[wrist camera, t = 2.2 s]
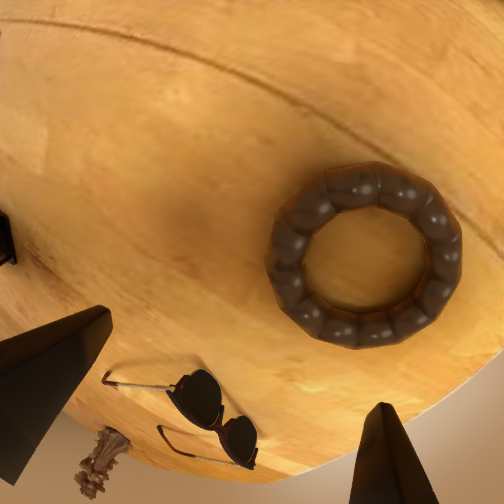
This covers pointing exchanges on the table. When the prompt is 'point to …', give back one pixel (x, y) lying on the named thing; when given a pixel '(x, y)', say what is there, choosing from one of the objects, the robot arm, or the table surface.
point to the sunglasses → (208, 415)
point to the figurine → (100, 462)
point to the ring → (352, 199)
